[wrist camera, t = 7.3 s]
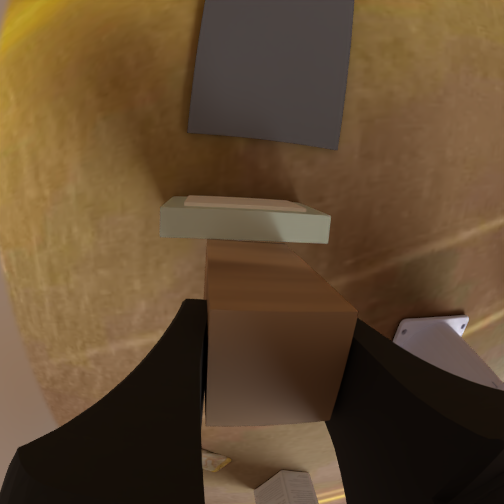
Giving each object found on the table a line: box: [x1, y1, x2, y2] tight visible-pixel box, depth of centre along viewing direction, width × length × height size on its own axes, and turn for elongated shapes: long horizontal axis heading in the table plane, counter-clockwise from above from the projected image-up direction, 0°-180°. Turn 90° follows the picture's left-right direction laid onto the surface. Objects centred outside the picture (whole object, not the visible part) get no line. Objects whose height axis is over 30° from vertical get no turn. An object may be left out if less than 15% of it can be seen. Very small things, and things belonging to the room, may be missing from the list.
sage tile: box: [160, 195, 331, 244], centre depth 15 cm, size 1×7×5 cm, turn 85°
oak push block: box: [204, 239, 358, 426], centre depth 10 cm, size 3×3×7 cm
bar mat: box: [187, 0, 354, 150], centre depth 14 cm, size 10×8×1 cm
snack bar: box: [202, 449, 232, 472], centre depth 26 cm, size 10×2×3 cm
